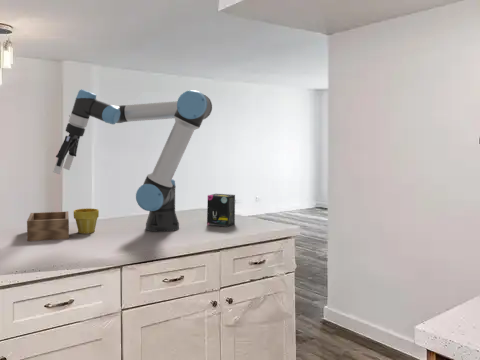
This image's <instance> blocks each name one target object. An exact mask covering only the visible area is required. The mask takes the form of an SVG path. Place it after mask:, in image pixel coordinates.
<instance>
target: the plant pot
mask: <svg viewBox="0 0 480 360" xmlns="http://www.w3.org/2000/svg"><path fill="white" fill-rule="evenodd" d="M99 213H100V210H99V209H98V208H90V207H89V208H88V207H87V208H78V209H74V210H73V219H75V223H76V227H77V231H78V233H79V234H93V233H94V232H95V230H96V226H97V221H98V219H99V217H100V214H99Z"/></svg>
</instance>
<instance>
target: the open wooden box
mask: <svg viewBox="0 0 480 360" xmlns="http://www.w3.org/2000/svg"><path fill="white" fill-rule="evenodd" d="M69 217H70V216H69V211H67V210H66V211H49V212H48V211H47V212H46V211H43V212H42V211H41V212H30V214H29V216H28V218H27V220H26V231H27V233H26V236H27V240H26V241H27V242H34V241H49V240H51V241H52V240H66V239H70V229H69V228H70V226H69V224H70V222H69V221H70V220H69Z"/></svg>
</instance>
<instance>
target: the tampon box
mask: <svg viewBox="0 0 480 360" xmlns="http://www.w3.org/2000/svg"><path fill="white" fill-rule="evenodd" d="M206 209H207V211H206V213H207V215H206V218H207V219H206V225H207V226H211V227H212V226H215V227H222V226H224V227H223V228H228V227H230V226H234V225H235V223H236V221H235V220H236V194H230V193H229V194H227V193H226V194H225V193H224V194H223V193H213V194H208V195H207V208H206ZM227 226H228V227H227Z"/></svg>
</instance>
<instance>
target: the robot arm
mask: <svg viewBox="0 0 480 360" xmlns="http://www.w3.org/2000/svg"><path fill="white" fill-rule="evenodd" d="M71 110H72V111H71V112H70V114H69V115H68V116H69V119H68V123H67V124H66V127H65V132H66V133H68V135H65V137H64V139H63V142H62V144H61V146H60V148H59V150H58V152H57V154H56V156H55V158H57V159H56V162H55V165H54V167H53V170H52V173H54V174H57V175H61V171H62V169H63V170H64V169H65V170H68V171H70V170H71V167H72V163H73V160H74V157H77V151H78V147H79V142H80V138H81V137H83V136H84V134H85V132H86V128H87V126H88V122H89V119H90V117H92V118H95V119H96V120H97V119H98V120H100V121H102V122H104V123H107V124H110V125H115V124H123V123H129V122H141V121H142V122H143V121H144V122H145V121H156V120H168V119H169V120H170V119H174V123H173V126H172V129H171V130H170V132H169V135H168V137H167V139H166V142H165V143H164V146H163V148H162V149H161V153H160V155H159V157H158V159H157V161H156V163H155V166H154V168H153V171H152V172H151V173H149V174H147V175H146V177H145V179H144V182H143V184H142V185H140V187H138V188H137V190H136V193H135V200H136V202H137V203H136V204H137V205H138V206H139V208H141V209H142V210H144V211H147V212H149V213H148V216H147V219H146V222H145V230H146V231H150V232H171V231H173V232H174V231H177V230H179V229H180V223H179V220H178V216H177V213H176V180H174V179H173V178H174V176H175V173H176V172H177V169H178V167H179V164H180V162H181V160H182V159H183V155H184V153H185V151H186V149H187V146H189V143H190V140H191V139H192V136H193V134H194V132H195V130H198V129H200V127H201V125H202V124H203V120H206V119H207V118H208V117H210V115H211V113H212V110H213V104H212V101H211V99H210V98H209V96H207V95H205V94H204V93H203V92H201V91H199V90H195V89H194V90H192V89H191V90H186V91H185V92H183V93H181V94H180V95H179V96H178V99H177V100H175V101H161V102H160V101H159V102H149V103H137V104H125V105H124V104H123V105H122V104H121V105H114V104H109V103H106V102H104V101H101V100H98V99H97V94H96V93H93V92H92V91H90V90H85V89H79V90H78V92H77V95H76V97H75V100H74V103H73V107H72V109H71Z"/></svg>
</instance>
